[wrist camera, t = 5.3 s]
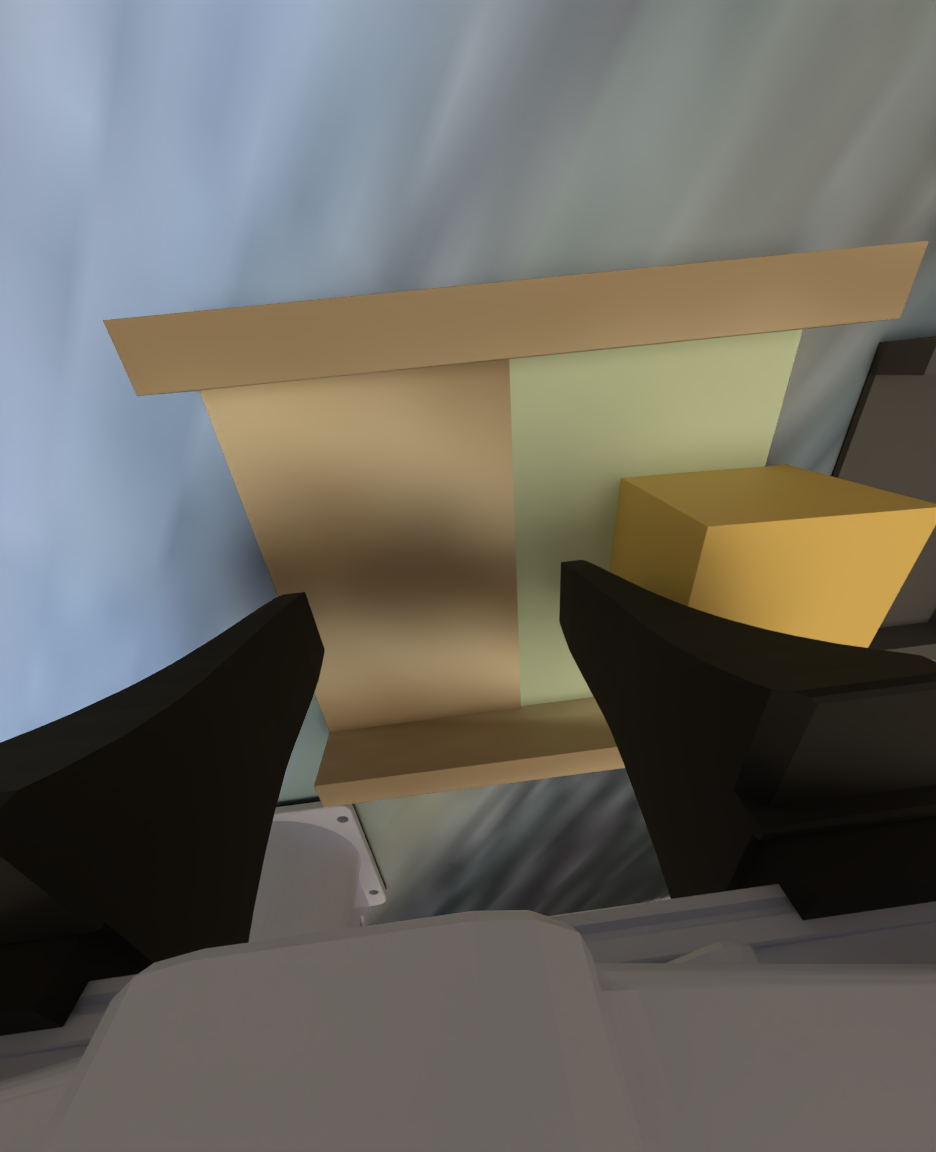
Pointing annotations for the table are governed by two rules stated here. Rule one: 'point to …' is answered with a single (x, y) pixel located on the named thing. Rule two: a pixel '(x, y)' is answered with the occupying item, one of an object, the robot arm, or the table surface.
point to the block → (772, 547)
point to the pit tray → (900, 473)
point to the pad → (621, 458)
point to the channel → (444, 482)
